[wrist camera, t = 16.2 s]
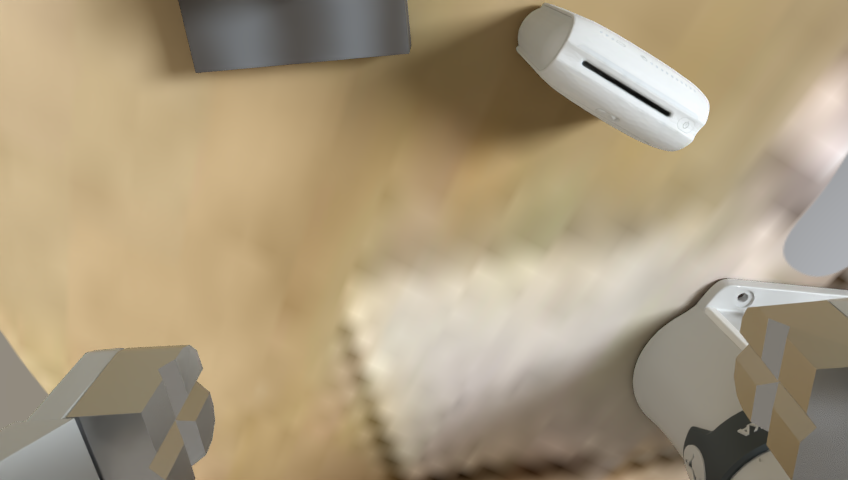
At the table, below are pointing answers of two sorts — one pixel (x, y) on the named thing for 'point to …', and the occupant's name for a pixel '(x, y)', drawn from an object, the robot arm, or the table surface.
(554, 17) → the photo printer
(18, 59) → the table surface
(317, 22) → the riser block
